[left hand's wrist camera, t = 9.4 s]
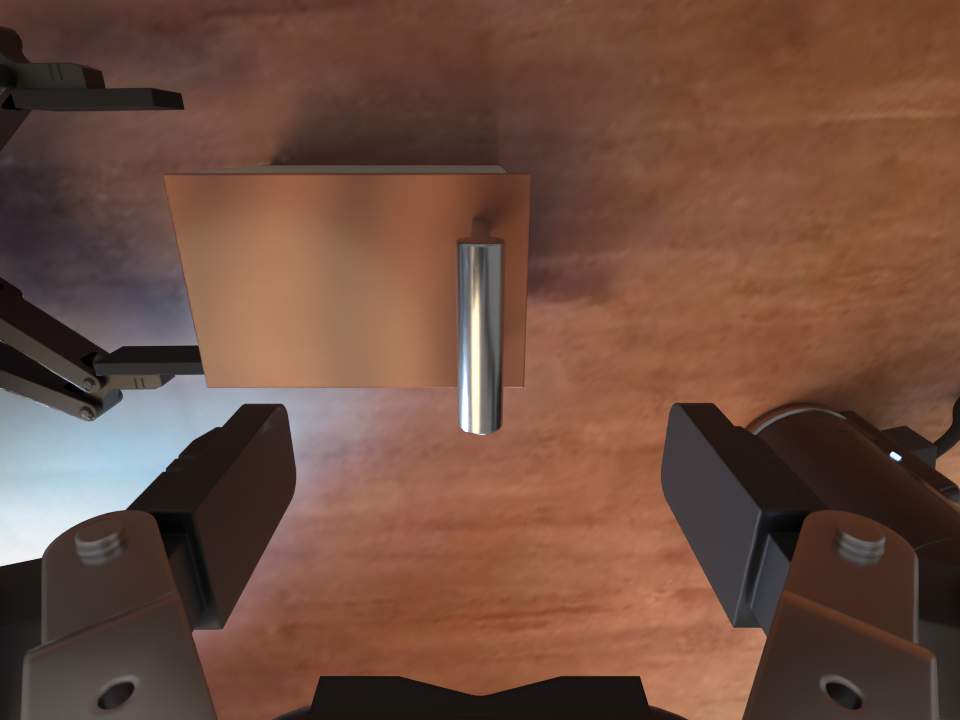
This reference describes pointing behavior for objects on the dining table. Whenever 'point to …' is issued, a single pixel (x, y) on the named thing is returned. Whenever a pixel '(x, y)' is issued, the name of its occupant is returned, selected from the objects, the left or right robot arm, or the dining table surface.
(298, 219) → the lid
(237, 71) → the dining table surface
